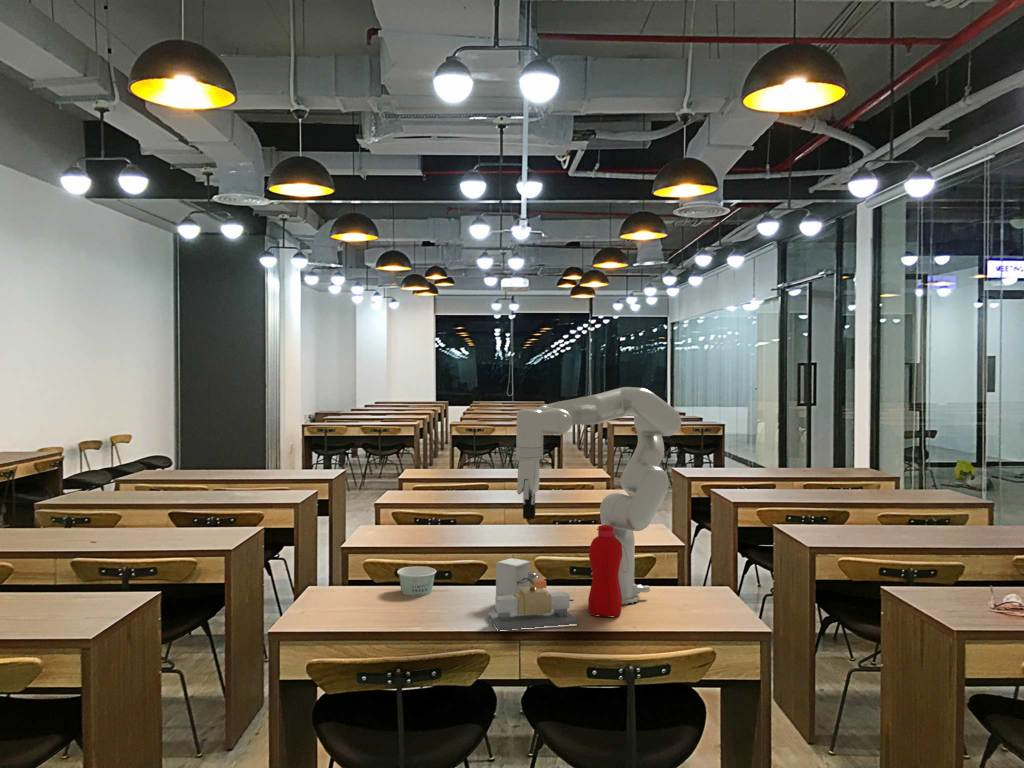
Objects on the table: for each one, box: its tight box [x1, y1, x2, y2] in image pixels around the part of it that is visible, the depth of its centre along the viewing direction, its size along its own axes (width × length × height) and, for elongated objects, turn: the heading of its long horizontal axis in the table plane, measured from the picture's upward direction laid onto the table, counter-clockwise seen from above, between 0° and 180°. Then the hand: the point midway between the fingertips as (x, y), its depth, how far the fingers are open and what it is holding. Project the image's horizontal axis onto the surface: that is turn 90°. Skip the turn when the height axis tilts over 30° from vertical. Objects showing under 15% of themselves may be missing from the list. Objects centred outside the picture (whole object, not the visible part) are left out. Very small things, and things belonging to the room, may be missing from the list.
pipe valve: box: [494, 581, 571, 621], centre depth 238 cm, size 20×6×10 cm, turn 104°
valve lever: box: [528, 571, 547, 589], centre depth 234 cm, size 10×3×2 cm, turn 14°
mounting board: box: [487, 609, 579, 632], centre depth 238 cm, size 22×12×2 cm, turn 104°
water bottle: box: [587, 524, 628, 617], centre depth 246 cm, size 9×11×25 cm
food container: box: [396, 565, 437, 597], centre depth 268 cm, size 12×12×6 cm
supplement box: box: [495, 557, 531, 596], centre depth 255 cm, size 7×7×13 cm
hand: (529, 518), depth 245 cm, fingers closed
